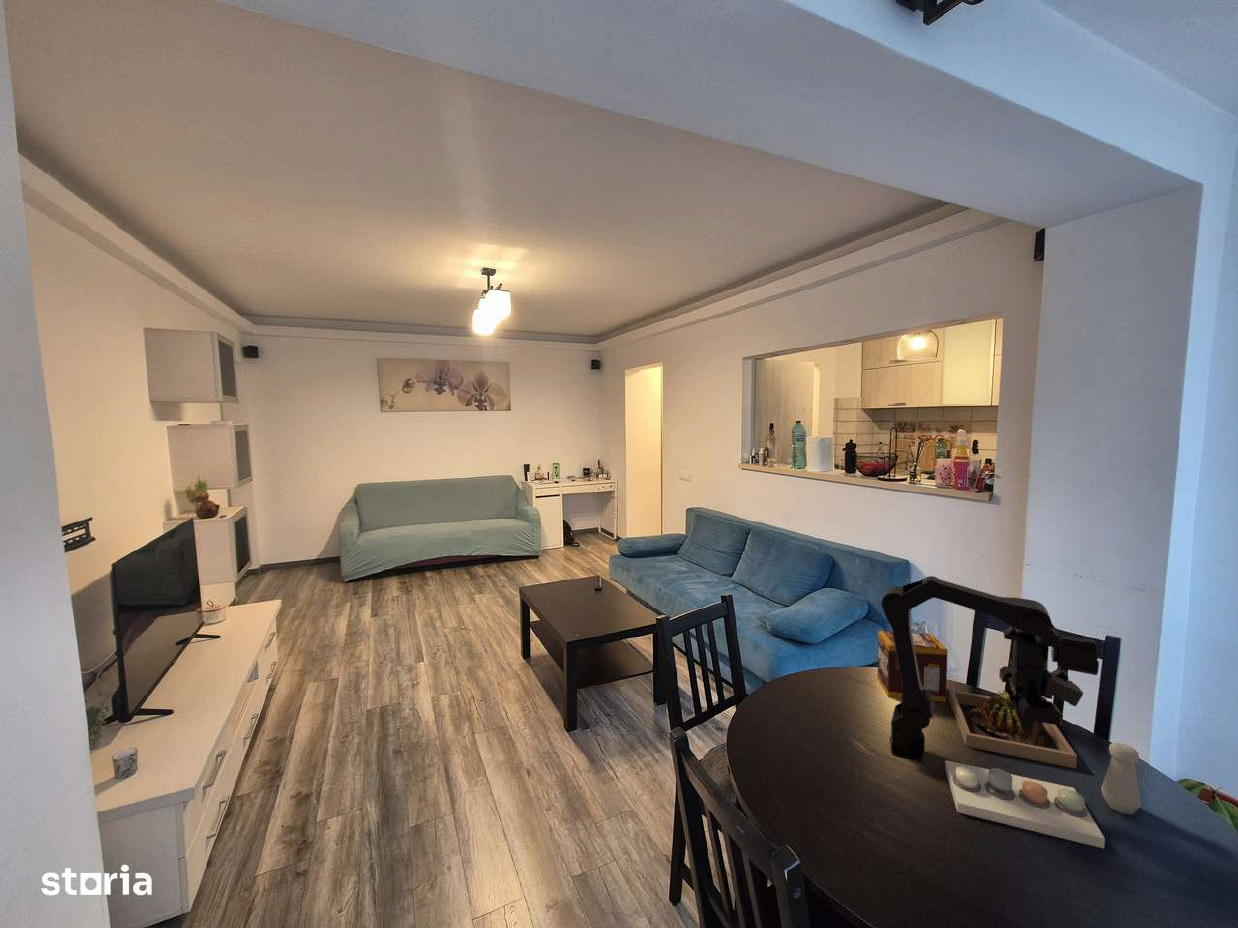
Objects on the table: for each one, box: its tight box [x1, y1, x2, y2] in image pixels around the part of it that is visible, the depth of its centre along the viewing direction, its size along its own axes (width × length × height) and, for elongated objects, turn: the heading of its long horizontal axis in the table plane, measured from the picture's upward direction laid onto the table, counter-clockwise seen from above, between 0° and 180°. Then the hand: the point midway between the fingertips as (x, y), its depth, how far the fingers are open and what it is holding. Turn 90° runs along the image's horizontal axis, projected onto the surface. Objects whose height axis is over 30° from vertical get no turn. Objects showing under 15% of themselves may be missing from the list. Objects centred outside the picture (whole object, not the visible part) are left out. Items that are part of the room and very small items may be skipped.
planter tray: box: [948, 689, 1078, 769], centre depth 129 cm, size 21×22×3 cm
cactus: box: [968, 690, 1053, 748], centre depth 130 cm, size 17×16×10 cm
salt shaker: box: [1100, 742, 1142, 816], centre depth 103 cm, size 6×6×13 cm
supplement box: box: [876, 630, 949, 702], centre depth 149 cm, size 10×15×16 cm
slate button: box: [988, 767, 1013, 791], centre depth 106 cm, size 4×4×2 cm
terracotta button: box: [1022, 781, 1048, 804], centre depth 104 cm, size 4×4×2 cm
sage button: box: [1057, 789, 1086, 813], centre depth 101 cm, size 4×4×2 cm
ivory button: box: [955, 766, 979, 788], centre depth 108 cm, size 4×4×2 cm
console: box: [944, 759, 1106, 849], centre depth 105 cm, size 23×14×2 cm, turn 66°
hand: (1026, 731), depth 109 cm, fingers closed
